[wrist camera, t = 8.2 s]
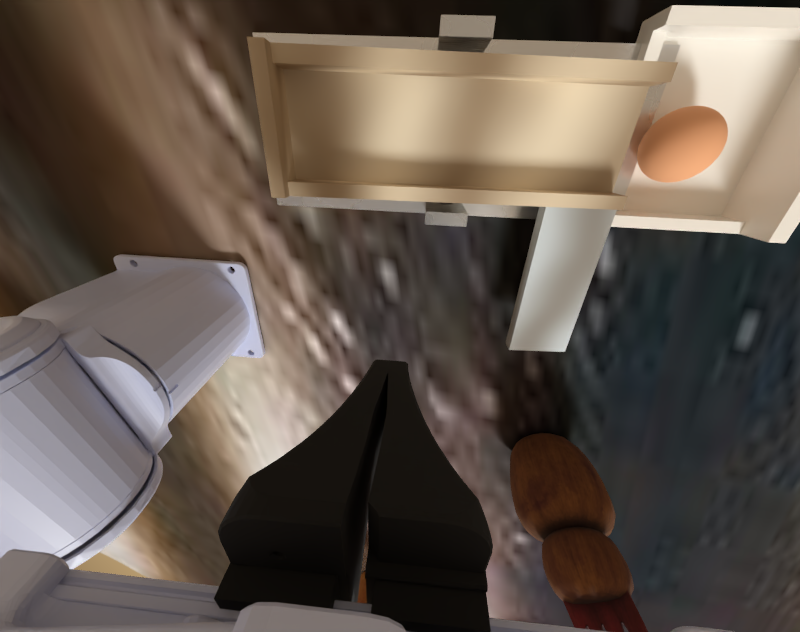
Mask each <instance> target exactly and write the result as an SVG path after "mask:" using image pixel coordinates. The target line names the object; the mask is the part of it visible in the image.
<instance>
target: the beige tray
mask: <svg viewBox="0 0 800 632" xmlns="http://www.w3.org/2000/svg"><path fill="white" fill-rule="evenodd" d="M247 41H248V48H249V54H250V60H251V67H252V73H253V80H254V86H255V93H256V99H257V106H258V112H259V119H260V125H261V132H262V138H263V145H264V151H265V158H266V164H267V171H268V177H269V184H270V190H271V197H272V198H287V197H289V196H299V197H323V198H347V199H371V200H395V201H418V202H439V203H440V204H447V205H450V204H453V203H466V204H490V205H514V206H537V207H539V210H538V214H537V218H536V222H535V226H534V230H533V234H532V238H531V242H530V246H529V250H528V254H527V258H526V262H525V266H524V270H523V274H522V278H521V282H520V286H519V291H518V295H517V299H516V303H515V307H514V311H513V315H512V319H511V323H510V327H509V331H508V335H507V339H506V345H507V347H508V349H509V350H527V351H555V352H565V350H566V347H567V344H568V342H569V339H570V336H571V334H572V331H573V328H574V325H575V323H576V320H577V317H578V315H579V312H580V309H581V306H582V304H583V301H584V298H585V295H586V293H587V290H588V287H589V285H590V282H591V279H592V276H593V274H594V271H595V268H596V265H597V263H598V260H599V257H600V255H601V252H602V249H603V246H604V244H605V241H606V238H607V235H608V233H609V230H610V227H611V225H612V222H613V219H614V216H615V214H616V211H617V210H623V208H624V205H625V203H626V200H627V197H628V196H624V195H620V194H616V193H612V192H613V189H614V186H615V183H616V181H617V178H618V175H619V172H620V169H621V166H622V163H623V161H624V158H625V155H626V152H627V149H628V146H629V143H630V141H631V138H632V135H633V132H634V129H635V126H636V124H637V121H638V118H639V115H640V112H641V109H642V106H643V104H644V101H645V98H646V95H647V92H648V89H649V87H650V86H655V85H659V84H664V83H668V82H671V80H672V78H673V75H674V72H675V70H676V67H677V64H678V62H661V61H641V60H620V59H600V58H580V57H560V56H539V55H519V54H499V53H479V52H468V51H438V50H418V49H398V48H377V47H357V46H337V45H317V44H296V43H276V42H269V41H268V40H266V39H265V38H264V37H247Z"/></svg>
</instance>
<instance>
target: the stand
mask: <svg viewBox="0 0 800 632" xmlns="http://www.w3.org/2000/svg"><path fill="white" fill-rule="evenodd" d="M495 19H496V16H476V15H441V19H440V29H439V38H429V37H394V36H359V35H325V34H290V33H255V32H252V33H253V37H264V38H265V39H266V40H268V41H269V42H276V43H296V44H317V45H337V46H357V47H377V48H398V49H418V50H438V51H468V52H479V53H499V54H519V55H539V56H560V57H580V58H600V59H620V60H637V58H638V55H639V52H640V49H641V46H642V44H636V43H602V42H567V41H532V40H498V39H492V38H493V33H494V26H495ZM680 46H681V45H671V44H663V46H662V49H661V52H660V55H659V57H658V60H657V61H661V62H675V59H676V56H677V54H678V51H679V48H680ZM665 86H666V83H664V84H659V85H655V86H650V87H649V89H648V92H647V95H646V98H645V101H644V104H643V106H642V109H641V112H640V115H639V118H638V121H637V124H636V126H635V129H634V132H633V135H632V138H631V141H630V143H629V146H628V149H627V152H626V155H625V158H624V161H623V163H622V166H621V169H620V172H619V175H618V178H617V181H616V183H615V186H614V189H613V192H612V193H616V194H620V195H624V196H625V194H626V191H627V188H628V186H629V183H630V180H631V178H632V175H633V172H634V170H635V167H636V164H637V152H638V147H639V144H640V142H641V140H642V138H643V136H644V135H645V133H646V132H647V131H648V129H649V128H650V126H651V124H652V121H653V118H654V116H655V113H656V110H657V108H658V105H659V102H660V99H661V97H662V94H663V91H664V89H665ZM277 203H278V205H289V206H307V207H325V208H343V209H361V210H379V211H396V212H414V213H425V224H429V225H446V226H464V227H466V224H467V217H468V216H486V217H504V218H522V219H536V218H537V214H538V210H539V207H537V206H514V205H490V204H466V203H453V204H450V205H447V204H440V203H439V202H418V201H395V200H371V199H347V198H323V197H299V196H289V197H287V198H277ZM617 211H619V210H617Z"/></svg>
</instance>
